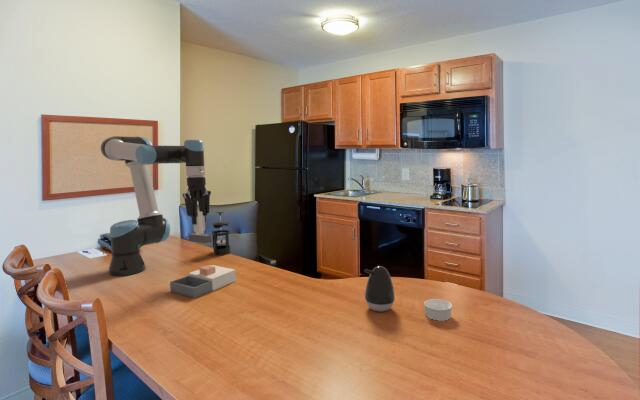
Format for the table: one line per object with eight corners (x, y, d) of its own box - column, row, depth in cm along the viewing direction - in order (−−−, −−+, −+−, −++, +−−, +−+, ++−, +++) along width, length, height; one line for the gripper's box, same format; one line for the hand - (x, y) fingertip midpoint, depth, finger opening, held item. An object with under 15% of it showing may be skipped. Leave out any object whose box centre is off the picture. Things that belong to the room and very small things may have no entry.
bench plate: (189, 284, 154) (188, 273, 153) (212, 275, 165) (212, 265, 164) (212, 290, 146) (212, 278, 146) (235, 281, 157) (235, 269, 157)
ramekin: (445, 325, 115) (445, 312, 115) (419, 317, 121) (419, 304, 121) (456, 315, 122) (456, 303, 121) (430, 308, 128) (431, 296, 127)
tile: (199, 273, 152) (199, 267, 152) (208, 270, 156) (207, 265, 156) (207, 275, 150) (206, 269, 149) (215, 272, 154) (215, 266, 153)
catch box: (170, 291, 146) (169, 281, 146) (188, 284, 154) (188, 275, 153) (194, 298, 139) (193, 288, 138) (212, 290, 146) (211, 281, 146)
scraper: (189, 240, 160) (187, 211, 159) (194, 239, 163) (192, 210, 162) (206, 243, 155) (204, 212, 153) (211, 241, 157) (209, 211, 156)
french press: (235, 252, 204) (233, 211, 201) (222, 256, 196) (220, 213, 194) (220, 249, 211) (218, 209, 208) (207, 253, 203) (205, 212, 200)
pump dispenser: (361, 303, 132) (361, 262, 131) (389, 302, 133) (390, 261, 131) (367, 315, 122) (367, 271, 120) (398, 314, 123) (398, 270, 121)
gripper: (186, 177, 147) (190, 235, 150) (216, 175, 160) (219, 228, 163) (174, 177, 151) (178, 233, 154) (204, 175, 164) (207, 227, 167)
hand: (199, 231), depth 158 cm, fingers closed on scraper, 2 cm apart
